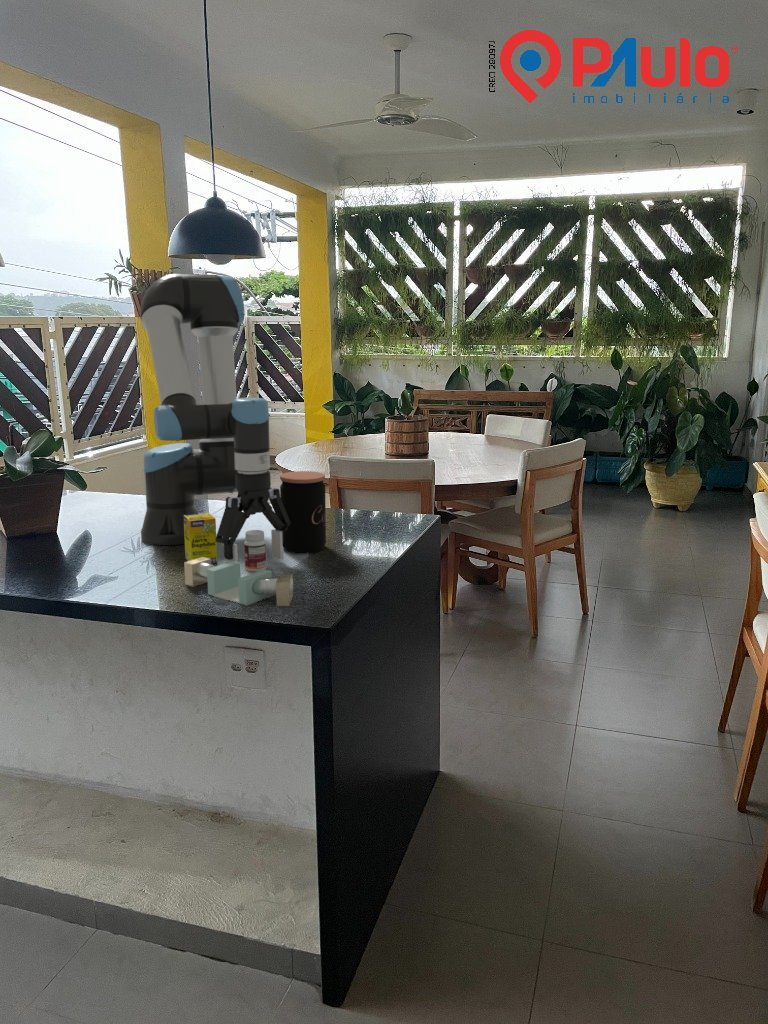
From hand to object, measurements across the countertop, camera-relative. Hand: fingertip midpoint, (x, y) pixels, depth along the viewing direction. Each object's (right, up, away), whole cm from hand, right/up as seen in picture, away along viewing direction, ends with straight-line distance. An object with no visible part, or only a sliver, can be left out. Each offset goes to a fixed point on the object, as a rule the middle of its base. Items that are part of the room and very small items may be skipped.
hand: (255, 565), depth 168 cm
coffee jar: (+9, +3, +16) cm, 19 cm away
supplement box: (-13, 0, +4) cm, 13 cm away
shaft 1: (-8, -3, -11) cm, 14 cm away
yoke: (0, -5, -17) cm, 17 cm away
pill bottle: (0, -1, 0) cm, 1 cm away
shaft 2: (+7, -6, -20) cm, 22 cm away
